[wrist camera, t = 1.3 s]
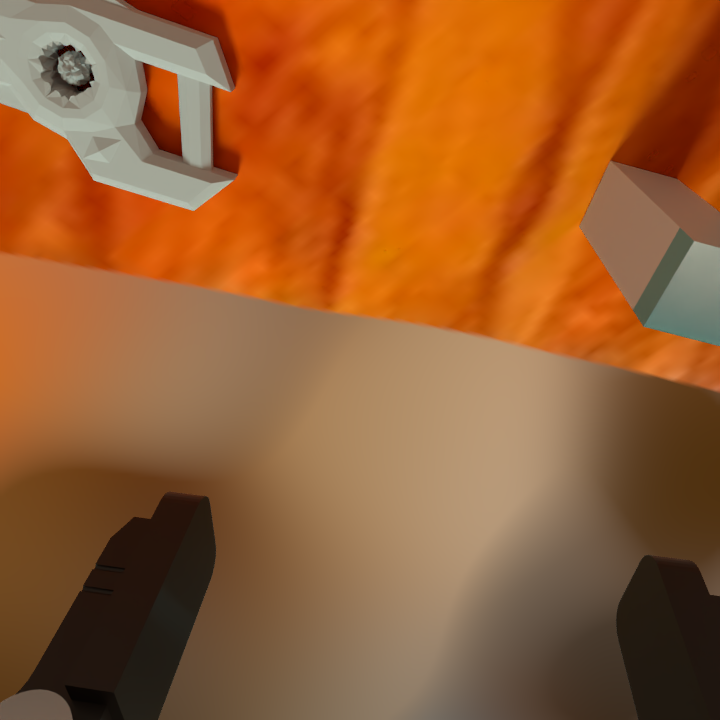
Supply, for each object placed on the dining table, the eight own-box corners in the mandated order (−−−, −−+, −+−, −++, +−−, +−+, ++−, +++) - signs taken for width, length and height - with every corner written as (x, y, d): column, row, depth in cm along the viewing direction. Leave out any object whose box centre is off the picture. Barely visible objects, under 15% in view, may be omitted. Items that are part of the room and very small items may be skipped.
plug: (610, 160, 33) (694, 240, 23) (677, 178, 33) (788, 266, 23) (579, 226, 35) (643, 326, 25) (642, 243, 36) (730, 348, 26)
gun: (-110, 127, 32) (-136, -94, 27) (-70, 114, 35) (-86, -88, 30) (221, 227, 35) (257, 44, 29) (233, 208, 38) (268, 38, 32)
